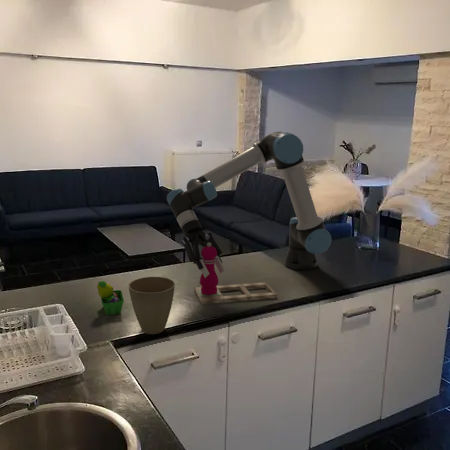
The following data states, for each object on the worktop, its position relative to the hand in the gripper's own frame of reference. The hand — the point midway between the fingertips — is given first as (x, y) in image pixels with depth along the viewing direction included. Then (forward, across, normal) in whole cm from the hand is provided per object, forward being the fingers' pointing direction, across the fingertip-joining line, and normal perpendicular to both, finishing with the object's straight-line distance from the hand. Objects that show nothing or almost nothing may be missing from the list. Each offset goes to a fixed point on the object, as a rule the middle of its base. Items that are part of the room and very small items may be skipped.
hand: (215, 273), depth 191 cm
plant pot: (+13, +33, -2) cm, 36 cm away
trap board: (+8, -9, -6) cm, 14 cm away
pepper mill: (+4, 0, -9) cm, 9 cm away
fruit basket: (-3, +36, -18) cm, 40 cm away
